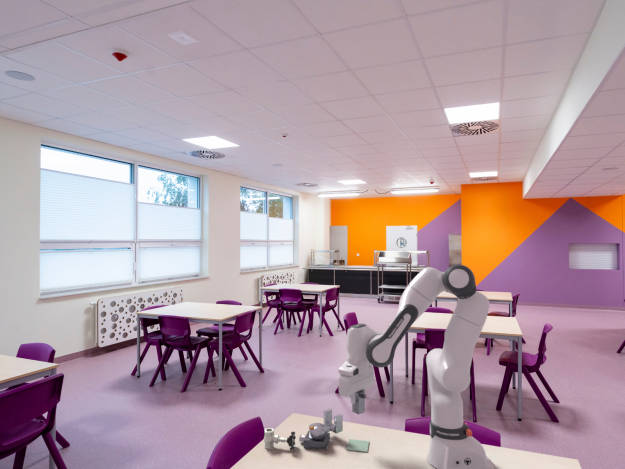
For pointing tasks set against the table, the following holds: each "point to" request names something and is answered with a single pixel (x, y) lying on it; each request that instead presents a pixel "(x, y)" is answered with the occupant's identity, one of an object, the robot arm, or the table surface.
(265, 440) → the valve
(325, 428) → the silver rounded housing
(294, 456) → the table surface
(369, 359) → the robot arm
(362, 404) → the grey tabbed block
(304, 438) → the block
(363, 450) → the felt pad
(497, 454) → the table surface
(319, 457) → the table surface
